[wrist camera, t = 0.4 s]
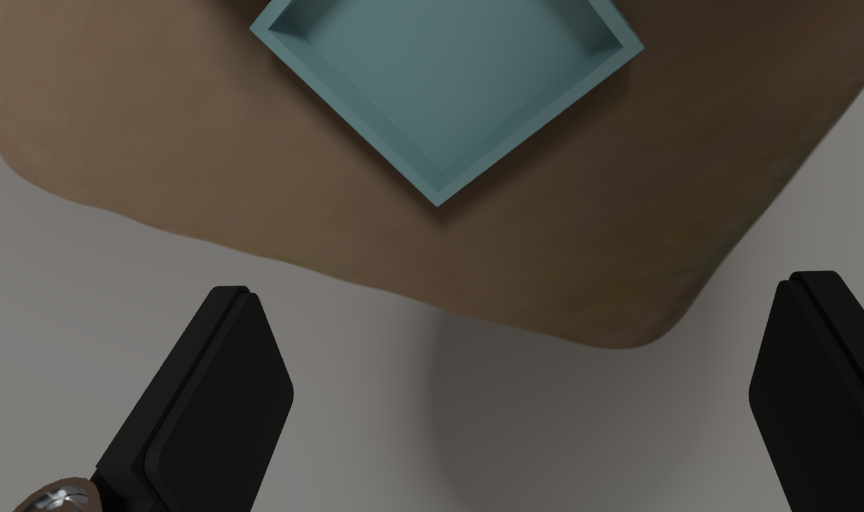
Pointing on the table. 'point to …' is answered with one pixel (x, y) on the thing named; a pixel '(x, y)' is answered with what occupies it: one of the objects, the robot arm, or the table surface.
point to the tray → (448, 72)
